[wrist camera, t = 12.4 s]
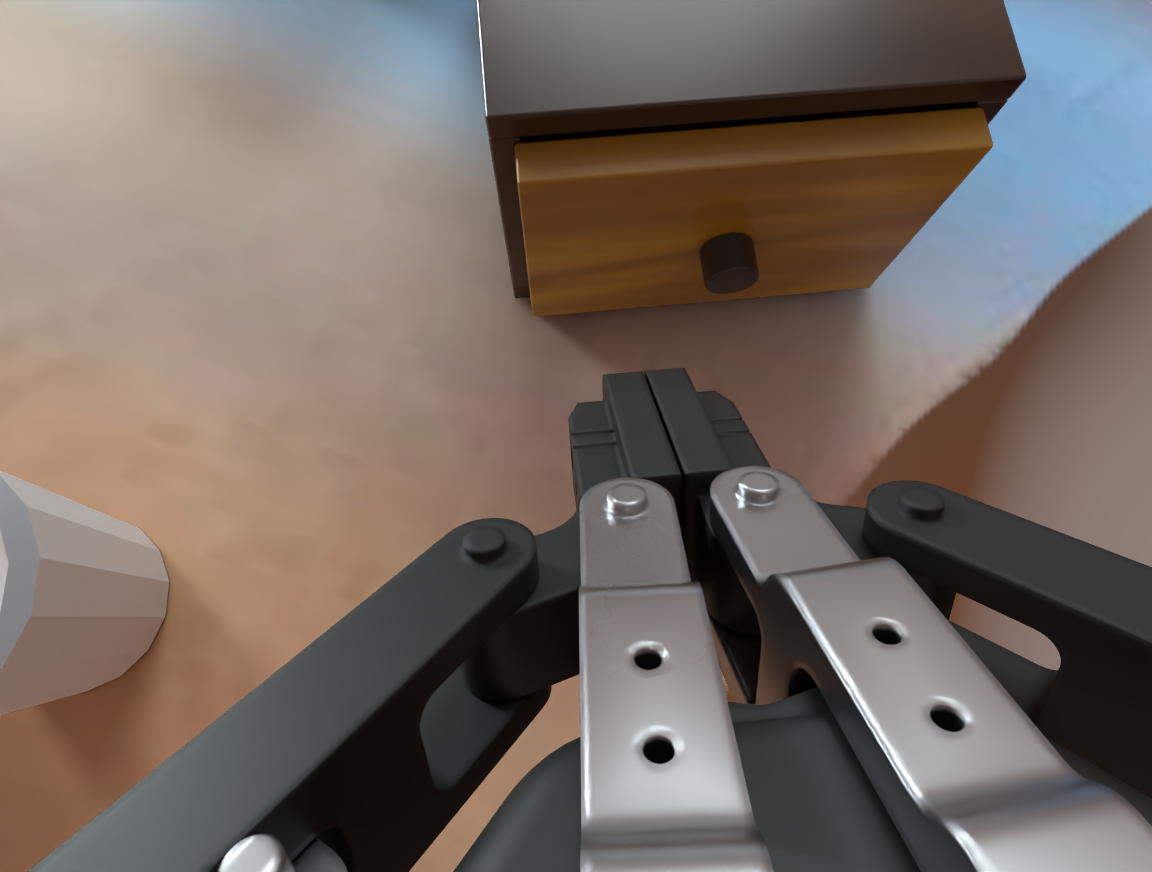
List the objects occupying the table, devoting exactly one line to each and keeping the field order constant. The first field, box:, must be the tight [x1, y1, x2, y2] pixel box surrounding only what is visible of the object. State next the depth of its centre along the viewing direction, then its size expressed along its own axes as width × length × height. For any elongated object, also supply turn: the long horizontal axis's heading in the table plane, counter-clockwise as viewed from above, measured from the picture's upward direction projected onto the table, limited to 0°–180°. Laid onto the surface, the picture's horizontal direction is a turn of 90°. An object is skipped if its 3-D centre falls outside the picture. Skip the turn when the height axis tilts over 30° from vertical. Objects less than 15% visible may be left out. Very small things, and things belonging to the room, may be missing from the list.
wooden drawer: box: [514, 106, 993, 316], centre depth 23 cm, size 15×12×8 cm
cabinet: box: [476, 0, 1026, 298], centre depth 24 cm, size 15×13×10 cm
